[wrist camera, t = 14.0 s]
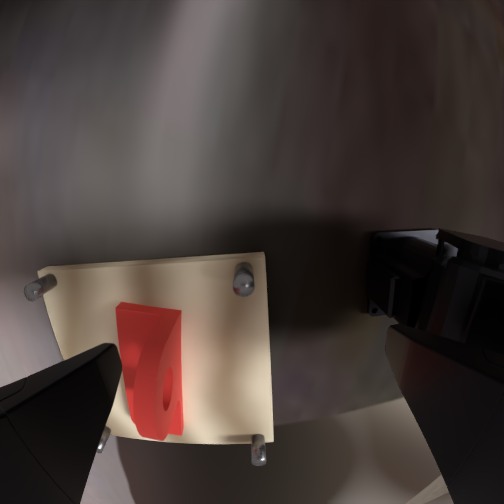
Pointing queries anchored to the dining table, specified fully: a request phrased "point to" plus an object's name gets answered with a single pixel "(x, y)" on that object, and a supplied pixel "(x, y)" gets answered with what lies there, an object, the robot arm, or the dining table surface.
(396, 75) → the dining table surface
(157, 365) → the bracket
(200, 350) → the peg board
